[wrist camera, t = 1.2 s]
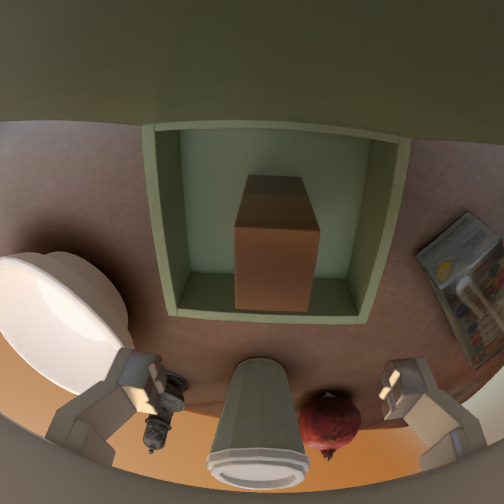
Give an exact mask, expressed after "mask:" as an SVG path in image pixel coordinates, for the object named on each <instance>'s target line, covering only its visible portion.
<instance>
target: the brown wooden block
mask: <svg viewBox="0 0 504 504" xmlns="http://www.w3.org/2000/svg"><path fill="white" fill-rule="evenodd" d="M320 234H321V231H320V228H319V225H318V222H317V219H316V216H315V213H314V210H313V208H312V205H311V202H310V199H309V197H308V194H307V191H306V188H305V186H304V183H303V180H302V178H301V177H291V176H272V175H248V176H247V180H246V183H245V187H244V191H243V194H242V198H241V202H240V206H239V210H238V213H237V217H236V221H235V225H234V269H235V307H236V309H247V310H268V311H298V312H307V311H308V307H309V302H310V296H311V291H312V285H313V279H314V273H315V267H316V261H317V254H318V248H319V241H320Z"/></svg>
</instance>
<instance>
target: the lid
mask: <svg viewBox="0 0 504 504" xmlns="http://www.w3.org/2000/svg"><path fill="white" fill-rule="evenodd" d="M22 120H67V121H90V122H105V123H117V124H128V125H146V124H156V123H168V122H183V121H204V120H264V121H286V122H300V123H312V124H323V125H332V126H340V127H348V128H355V129H362V130H369V131H375V132H381V133H386V134H392V135H397V136H402V137H407V138H411V139H416V140H446V141H463V142H476V143H487V144H496V145H504V0H0V121H22Z"/></svg>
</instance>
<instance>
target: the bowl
mask: <svg viewBox="0 0 504 504" xmlns="http://www.w3.org/2000/svg"><path fill="white" fill-rule="evenodd" d="M0 331H1V333H2V334H3V336H4V337H5V338H6V340H7V341H8V343H9V344H10V345H11V346H12V347H13V348H14V350H15V351H16V352H17V353H18V354H19V355H20V356H21V357H22V358H23V359H24V360H25V361H26V362H27V363H28V364H29V365H30V366H32V367H33V368H34V369H35V370H36V371H38V372H39V373H40V374H42V375H43V376H44V377H46V378H47V379H49V380H50V381H52V382H53V383H55V384H57V385H58V386H60V387H62V388H64V389H65V390H68V391H70V392H72V393H74V394H77V395H80V394H81V393H83V392H84V391H86V390H87V389H89V388H90V387H92V386H93V385H94V384H96V383H97V382H99V381H100V380H102V381H104V380H105V378H106V375H107V373H108V371H109V369H110V367H111V365H112V362H113V360H114V358H115V356H116V354H117V352H118V350H119V349H120V348H121V347H124V348H129V349H134V350H135V347H134V343H133V340H132V338H131V335H130V333H129V331H128V313H127V310H126V307H125V303H124V302H123V300H122V298H121V296H120V294H119V292H118V291H117V289H116V288H115V286H114V285H113V284H112V283H111V282H110V280H109V279H108V278H107V277H106V276H105V275H104V274H103V273H102V272H101V271H100V270H98V269H97V268H96V267H95V266H94V265H92V264H91V263H89V262H88V261H86V260H85V259H83V258H81V257H79V256H77V255H74V254H71V253H68V252H60V251H56V252H51V253H48V254H45V255H42V254H39V253H32V252H24V253H18V254H13V255H8V256H3V257H0Z"/></svg>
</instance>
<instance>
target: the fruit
mask: <svg viewBox="0 0 504 504" xmlns="http://www.w3.org/2000/svg"><path fill="white" fill-rule="evenodd" d="M298 425H299V429H300V433H301V437H302V441H303V442H304V443H305V444H306V445H308V446H311V447H315V448H317V449H319V450H320V451H321V453H322V455H323V456H324V458H326V457H328V461H329V460H330V457H331V458H332V456H333V453H334V452H335V451H336V450H337V449H339V448H341V447H342V446H344V445H346V444H348V443H349V442H350V441H352V439H353V438H354V437H355V436H356V434H357V432H358V431H359V428H360V426H361V415H360V412H359V410H358V409H357V407H356V406H355V405H354V404H353V403H352V402H350V401H348V400H346V399H343V398H338V397H335V396H333V395H331V394H330V393H328V392H326V391H325V393H324V394H323V395H322V396H319V397H316V398H314V399H312V400H310V401H308V402H307V403H306V404H305V405H304V407H303V408H302V410H301V412H300V416H299V419H298Z"/></svg>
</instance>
